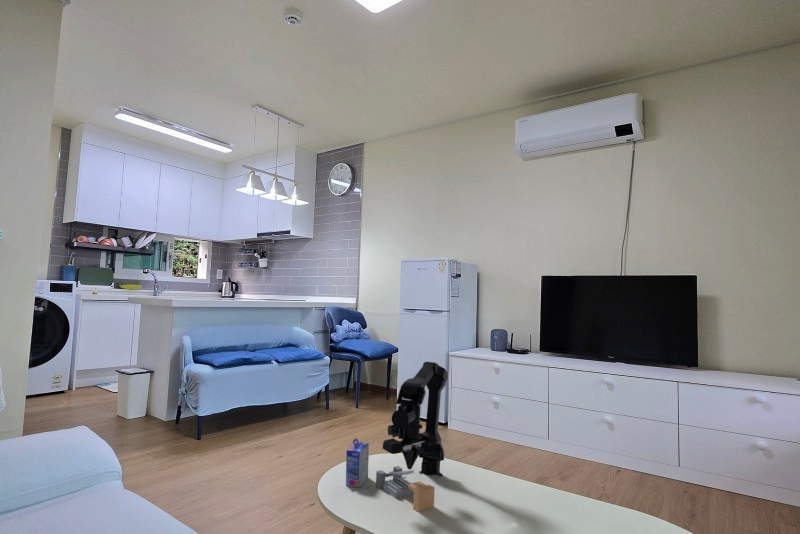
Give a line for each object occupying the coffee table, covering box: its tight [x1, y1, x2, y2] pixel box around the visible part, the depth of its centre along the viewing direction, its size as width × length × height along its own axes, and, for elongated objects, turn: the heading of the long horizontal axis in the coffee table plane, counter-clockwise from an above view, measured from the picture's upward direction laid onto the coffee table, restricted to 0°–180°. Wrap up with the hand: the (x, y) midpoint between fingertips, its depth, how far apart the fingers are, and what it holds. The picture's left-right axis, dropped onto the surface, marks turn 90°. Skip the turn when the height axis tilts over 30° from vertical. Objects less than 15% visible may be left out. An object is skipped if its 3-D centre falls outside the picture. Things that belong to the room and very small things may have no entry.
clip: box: [408, 480, 436, 512], centre depth 137 cm, size 6×6×6 cm
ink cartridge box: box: [345, 437, 370, 488], centre depth 155 cm, size 10×6×14 cm, turn 165°
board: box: [362, 465, 414, 499], centre depth 143 cm, size 18×23×6 cm
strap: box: [385, 469, 415, 478], centre depth 146 cm, size 3×13×1 cm, turn 36°
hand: (409, 468), depth 142 cm, fingers closed
